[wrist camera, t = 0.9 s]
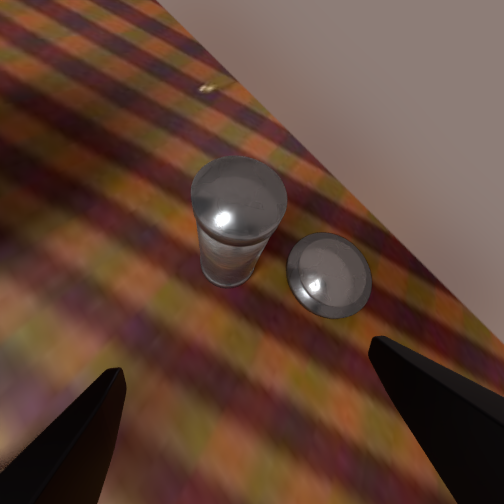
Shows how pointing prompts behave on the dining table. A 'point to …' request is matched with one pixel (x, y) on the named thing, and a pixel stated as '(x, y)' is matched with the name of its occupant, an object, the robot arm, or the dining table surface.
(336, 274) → the silver flat disc
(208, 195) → the grey piece
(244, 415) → the dining table surface
